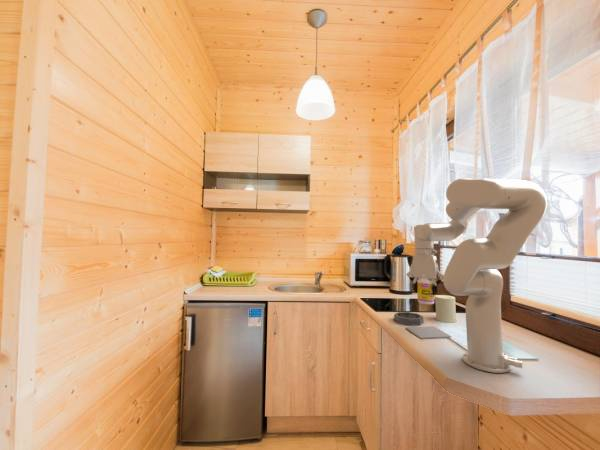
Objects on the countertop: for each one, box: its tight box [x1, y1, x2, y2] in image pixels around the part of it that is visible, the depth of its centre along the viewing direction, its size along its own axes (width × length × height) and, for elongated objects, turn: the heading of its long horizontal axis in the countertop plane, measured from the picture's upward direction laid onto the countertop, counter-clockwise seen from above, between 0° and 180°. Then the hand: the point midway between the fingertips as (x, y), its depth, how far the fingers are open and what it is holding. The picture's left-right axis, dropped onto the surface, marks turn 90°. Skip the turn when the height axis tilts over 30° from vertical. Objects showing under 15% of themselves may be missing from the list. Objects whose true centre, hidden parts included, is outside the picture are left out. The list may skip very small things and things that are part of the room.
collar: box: [393, 311, 425, 327], centre depth 129 cm, size 12×12×3 cm
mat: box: [405, 325, 452, 340], centre depth 113 cm, size 13×13×1 cm
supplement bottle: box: [417, 274, 435, 305], centre depth 114 cm, size 7×7×13 cm
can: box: [434, 294, 457, 324], centre depth 132 cm, size 9×9×12 cm
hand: (425, 293), depth 114 cm, fingers closed on supplement bottle, 6 cm apart
